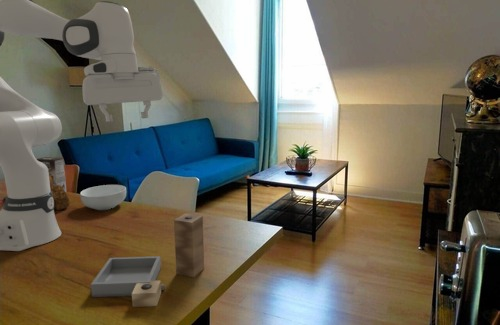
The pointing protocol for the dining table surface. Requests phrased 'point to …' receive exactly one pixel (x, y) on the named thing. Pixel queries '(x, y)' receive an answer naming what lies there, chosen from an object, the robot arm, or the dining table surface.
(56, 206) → the stuffed squirrel
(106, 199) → the cereal bowl
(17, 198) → the robot arm
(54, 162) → the coffee box
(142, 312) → the dining table surface
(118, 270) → the tray
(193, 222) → the block
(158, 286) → the block
